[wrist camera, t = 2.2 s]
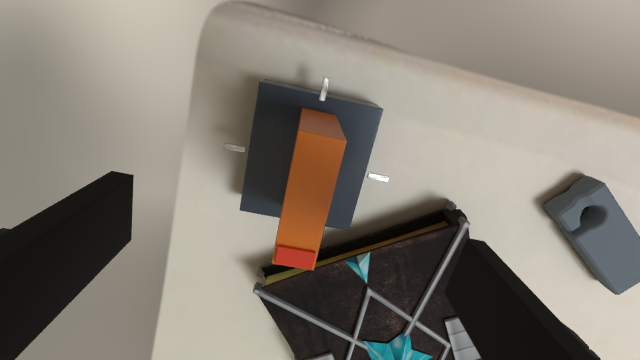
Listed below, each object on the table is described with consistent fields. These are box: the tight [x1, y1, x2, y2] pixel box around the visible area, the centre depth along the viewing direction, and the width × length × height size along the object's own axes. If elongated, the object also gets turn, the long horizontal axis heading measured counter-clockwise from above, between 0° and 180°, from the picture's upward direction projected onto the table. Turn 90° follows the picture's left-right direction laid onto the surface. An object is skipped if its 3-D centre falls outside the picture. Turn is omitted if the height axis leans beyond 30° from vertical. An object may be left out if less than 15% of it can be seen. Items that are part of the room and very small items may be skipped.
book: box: [253, 200, 482, 360], centre depth 28 cm, size 22×17×5 cm
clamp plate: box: [224, 77, 388, 231], centre depth 24 cm, size 11×11×3 cm
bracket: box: [544, 176, 640, 295], centre depth 27 cm, size 4×10×2 cm, turn 43°
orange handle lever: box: [272, 108, 347, 270], centre depth 19 cm, size 7×2×7 cm, turn 168°
